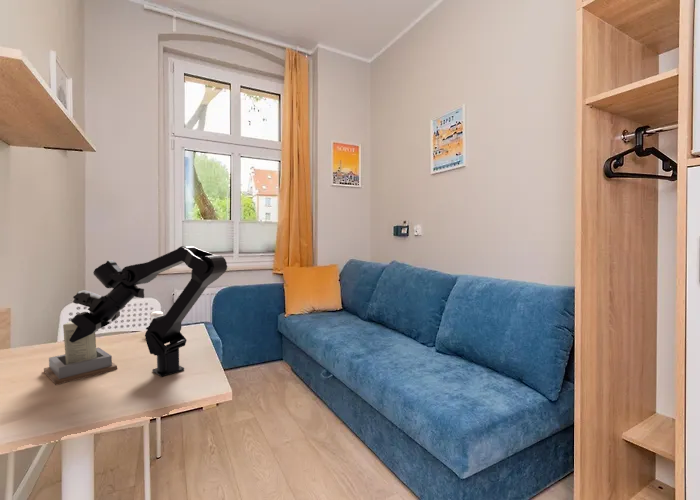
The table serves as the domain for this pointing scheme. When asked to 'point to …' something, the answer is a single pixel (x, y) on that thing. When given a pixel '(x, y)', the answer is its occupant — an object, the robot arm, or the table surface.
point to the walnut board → (78, 376)
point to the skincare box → (78, 345)
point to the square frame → (79, 364)
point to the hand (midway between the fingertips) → (74, 339)
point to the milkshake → (156, 314)
